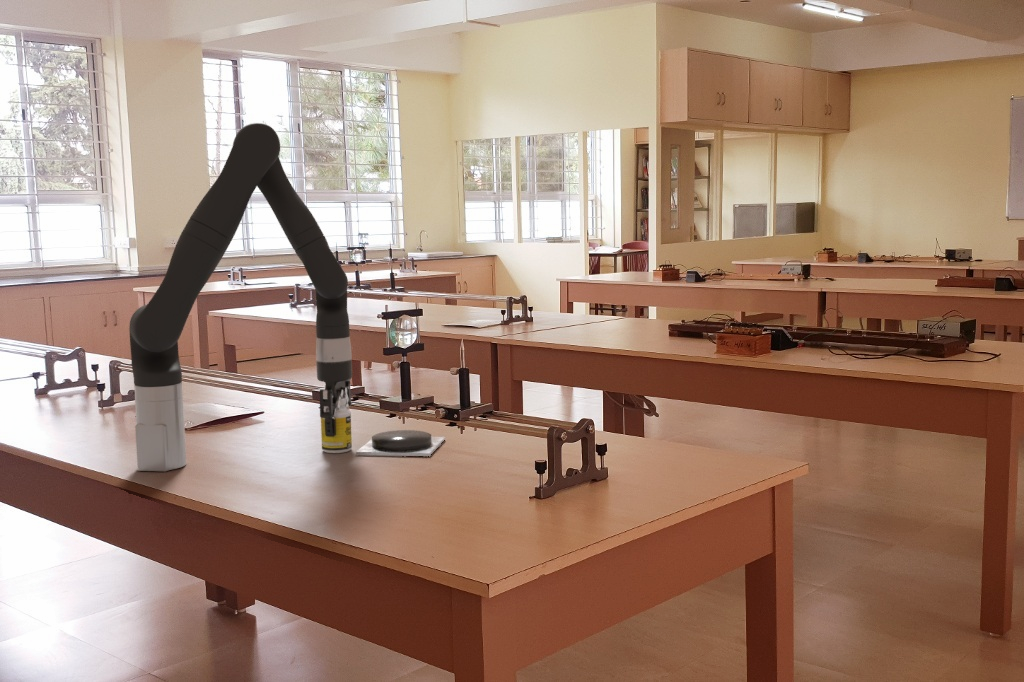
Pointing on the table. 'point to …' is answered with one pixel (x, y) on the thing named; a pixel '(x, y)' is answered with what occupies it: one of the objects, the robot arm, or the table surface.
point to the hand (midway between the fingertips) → (337, 431)
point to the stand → (401, 444)
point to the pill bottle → (338, 431)
